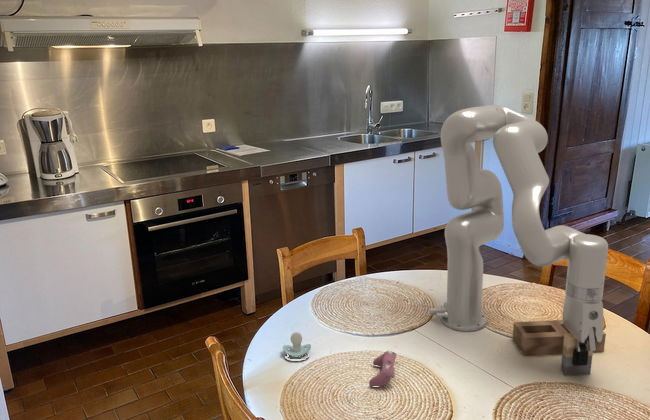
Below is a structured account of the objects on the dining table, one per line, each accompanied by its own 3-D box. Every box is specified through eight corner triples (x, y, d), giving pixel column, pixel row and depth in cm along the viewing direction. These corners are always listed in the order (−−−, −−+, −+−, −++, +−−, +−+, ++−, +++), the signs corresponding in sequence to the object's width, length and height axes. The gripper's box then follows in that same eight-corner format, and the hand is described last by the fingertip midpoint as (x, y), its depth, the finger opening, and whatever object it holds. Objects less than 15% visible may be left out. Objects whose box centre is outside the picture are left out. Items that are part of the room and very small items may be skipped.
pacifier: (310, 363, 133) (311, 349, 138) (309, 341, 131) (310, 328, 136) (282, 364, 133) (284, 350, 138) (280, 342, 131) (282, 329, 137)
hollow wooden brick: (524, 355, 131) (525, 338, 130) (512, 339, 139) (513, 322, 137) (603, 351, 131) (605, 334, 130) (587, 335, 139) (589, 318, 137)
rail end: (564, 375, 122) (568, 337, 119) (560, 370, 124) (564, 333, 121) (590, 374, 122) (594, 336, 120) (586, 369, 124) (590, 332, 121)
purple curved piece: (385, 395, 121) (398, 373, 118) (367, 386, 121) (380, 364, 119) (388, 371, 130) (401, 349, 128) (371, 362, 130) (384, 341, 128)
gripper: (620, 304, 110) (611, 380, 115) (583, 274, 125) (576, 342, 130) (585, 306, 110) (577, 382, 115) (552, 276, 125) (546, 344, 130)
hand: (576, 360), depth 122 cm, fingers closed on rail end, 2 cm apart
